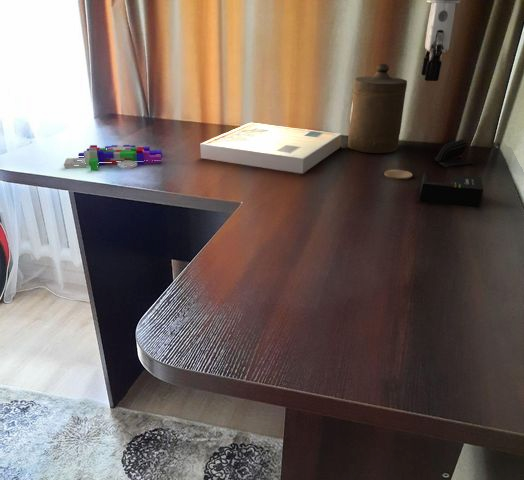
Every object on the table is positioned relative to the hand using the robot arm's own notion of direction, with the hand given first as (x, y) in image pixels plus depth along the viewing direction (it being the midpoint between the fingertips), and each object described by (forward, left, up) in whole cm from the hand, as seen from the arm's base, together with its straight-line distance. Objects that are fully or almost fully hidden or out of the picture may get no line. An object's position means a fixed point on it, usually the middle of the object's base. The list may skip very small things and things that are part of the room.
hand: (429, 77), depth 128 cm
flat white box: (+40, -1, -21) cm, 45 cm away
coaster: (+5, +13, -21) cm, 25 cm away
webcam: (-10, -2, -21) cm, 23 cm away
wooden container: (+12, -14, -21) cm, 28 cm away
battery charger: (-6, +28, -21) cm, 36 cm away
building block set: (+81, +16, -21) cm, 85 cm away
